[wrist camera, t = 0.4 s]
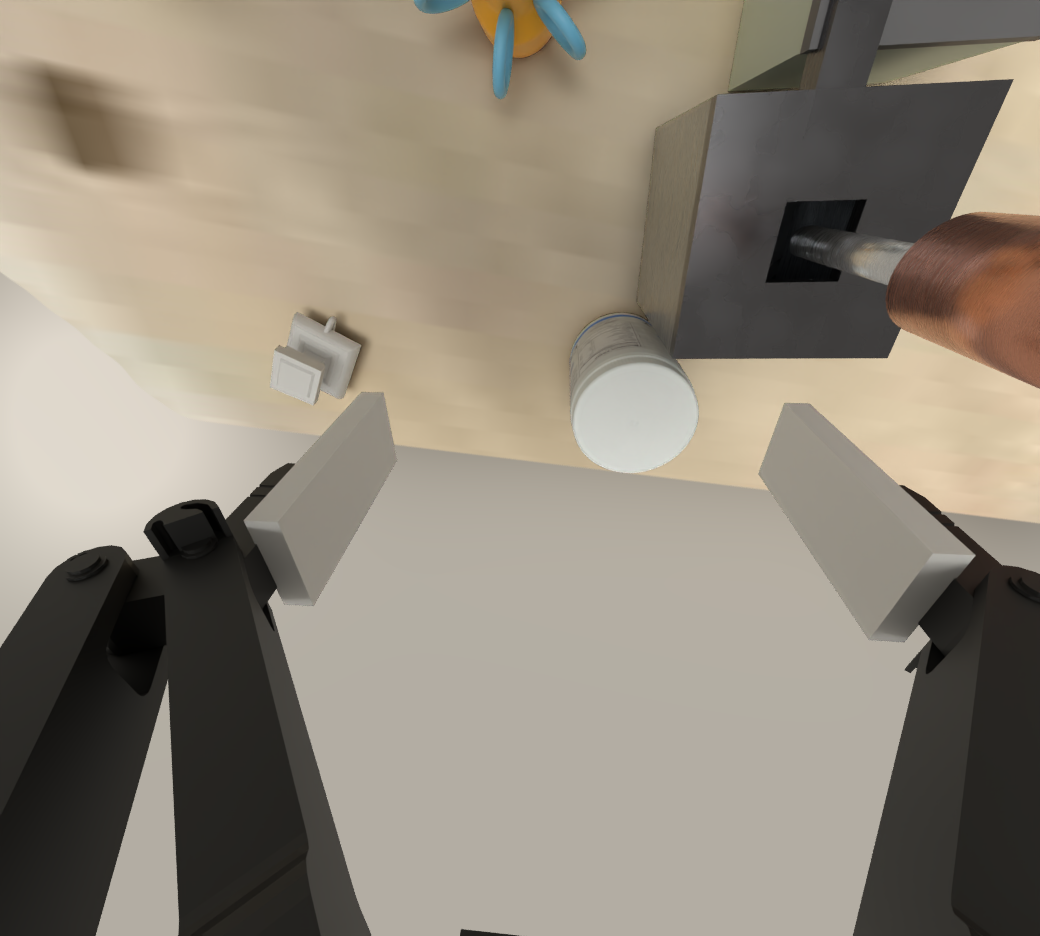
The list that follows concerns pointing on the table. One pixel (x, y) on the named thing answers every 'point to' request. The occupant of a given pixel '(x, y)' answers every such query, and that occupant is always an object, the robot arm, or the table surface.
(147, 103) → the table surface
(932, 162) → the grey box
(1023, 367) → the copper lever handle
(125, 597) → the robot arm
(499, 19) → the orange looped holder
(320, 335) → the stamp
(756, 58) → the green box with knob
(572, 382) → the supplement tub
